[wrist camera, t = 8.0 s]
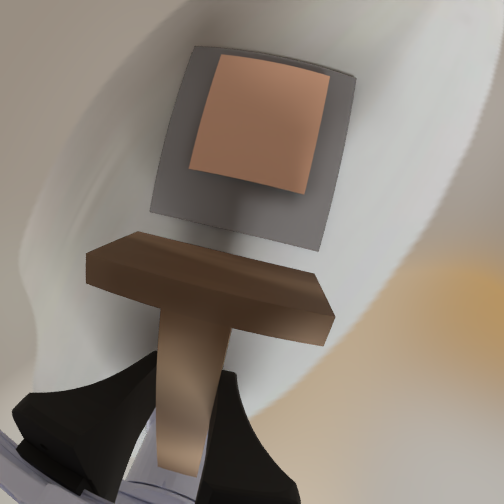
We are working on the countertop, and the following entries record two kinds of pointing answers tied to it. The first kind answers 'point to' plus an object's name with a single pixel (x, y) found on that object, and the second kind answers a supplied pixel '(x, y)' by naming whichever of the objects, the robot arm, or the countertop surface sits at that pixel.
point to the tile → (261, 123)
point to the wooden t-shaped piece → (204, 323)
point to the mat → (243, 192)
